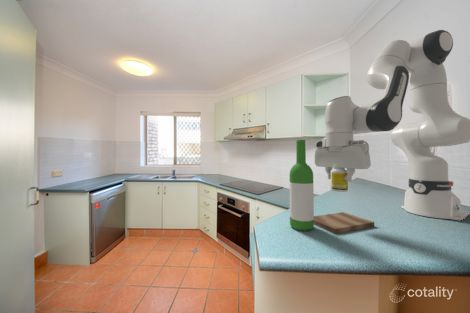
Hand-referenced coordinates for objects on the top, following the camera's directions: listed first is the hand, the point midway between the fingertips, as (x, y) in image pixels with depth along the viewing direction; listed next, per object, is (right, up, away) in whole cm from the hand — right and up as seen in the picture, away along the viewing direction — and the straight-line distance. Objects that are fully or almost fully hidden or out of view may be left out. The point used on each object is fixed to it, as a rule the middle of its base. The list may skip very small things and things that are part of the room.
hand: (339, 180), depth 65 cm
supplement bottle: (0, -4, 0) cm, 4 cm away
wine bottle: (-15, -16, -3) cm, 22 cm away
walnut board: (0, -16, 0) cm, 16 cm away
